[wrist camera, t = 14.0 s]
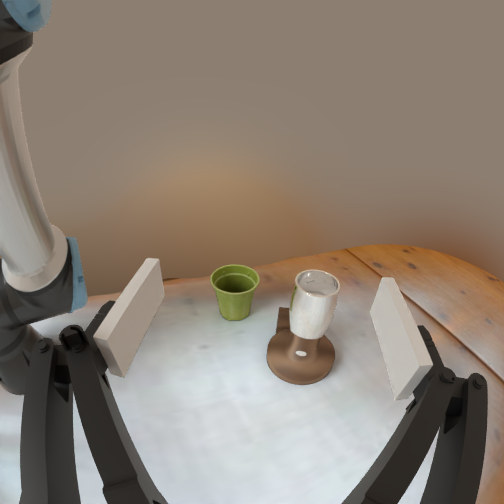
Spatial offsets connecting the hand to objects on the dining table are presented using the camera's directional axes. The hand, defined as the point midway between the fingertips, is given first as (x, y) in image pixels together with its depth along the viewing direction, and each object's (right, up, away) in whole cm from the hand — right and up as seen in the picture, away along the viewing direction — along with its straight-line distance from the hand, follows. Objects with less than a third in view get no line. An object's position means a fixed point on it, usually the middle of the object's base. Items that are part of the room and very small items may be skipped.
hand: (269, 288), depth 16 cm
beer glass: (+8, -15, +30) cm, 35 cm away
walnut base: (+8, -17, +31) cm, 36 cm away
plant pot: (-5, -11, +42) cm, 43 cm away
